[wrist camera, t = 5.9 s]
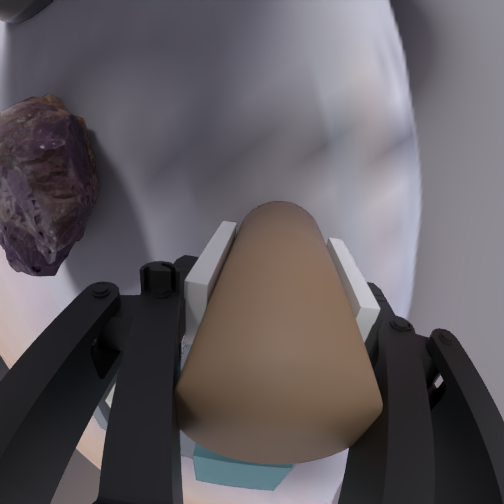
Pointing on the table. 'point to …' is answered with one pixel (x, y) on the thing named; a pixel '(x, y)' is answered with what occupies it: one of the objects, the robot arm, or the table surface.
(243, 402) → the block
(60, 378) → the robot arm
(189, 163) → the table surface
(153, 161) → the table surface
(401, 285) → the table surface
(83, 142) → the rock
